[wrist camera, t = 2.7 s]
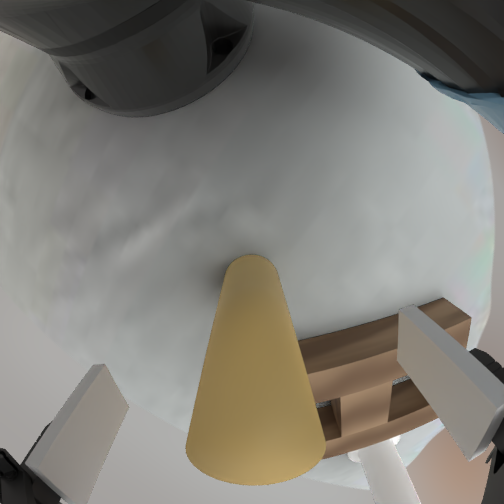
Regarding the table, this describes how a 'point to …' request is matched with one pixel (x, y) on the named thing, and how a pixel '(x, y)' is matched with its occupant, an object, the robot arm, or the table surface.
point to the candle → (386, 473)
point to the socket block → (370, 380)
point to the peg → (254, 386)
